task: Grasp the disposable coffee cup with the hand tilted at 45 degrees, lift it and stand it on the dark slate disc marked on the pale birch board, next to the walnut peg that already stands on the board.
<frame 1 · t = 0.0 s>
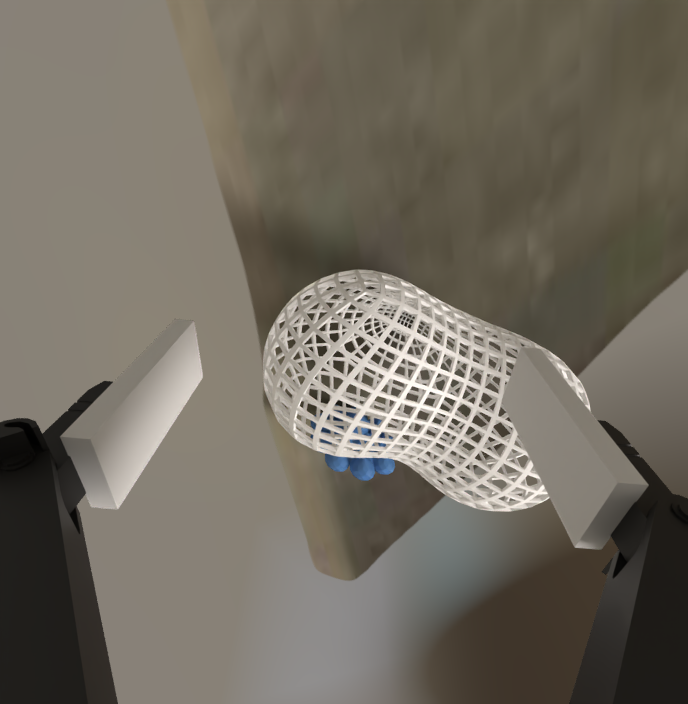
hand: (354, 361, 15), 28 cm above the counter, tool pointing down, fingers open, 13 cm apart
heart: (407, 315, 45), on the counter
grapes: (356, 402, 52), on the counter
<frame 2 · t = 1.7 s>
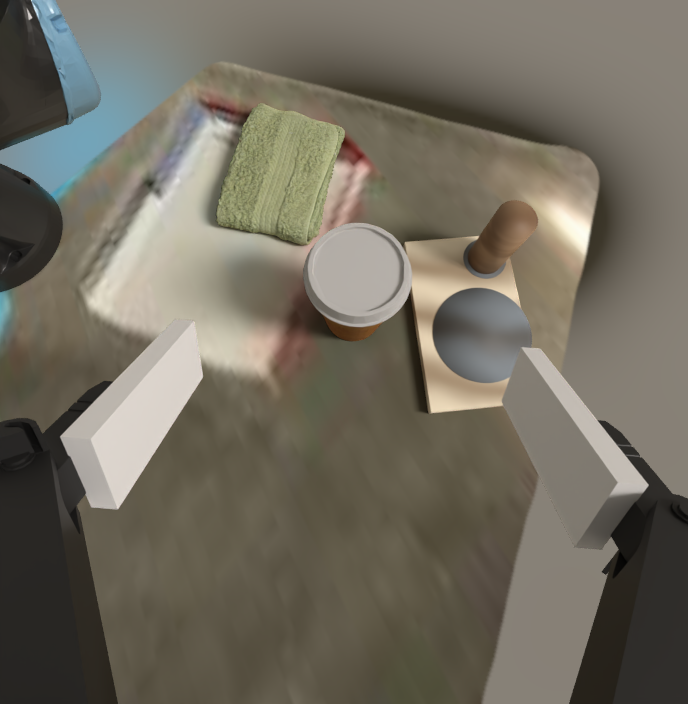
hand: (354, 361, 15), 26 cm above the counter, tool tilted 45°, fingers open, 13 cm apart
washcloth: (282, 181, 48), on the counter
board: (466, 321, 43), on the counter
walnut peg: (484, 258, 44), point 1 cm above the counter, touching board
disposable coffee cup: (352, 315, 43), on the counter
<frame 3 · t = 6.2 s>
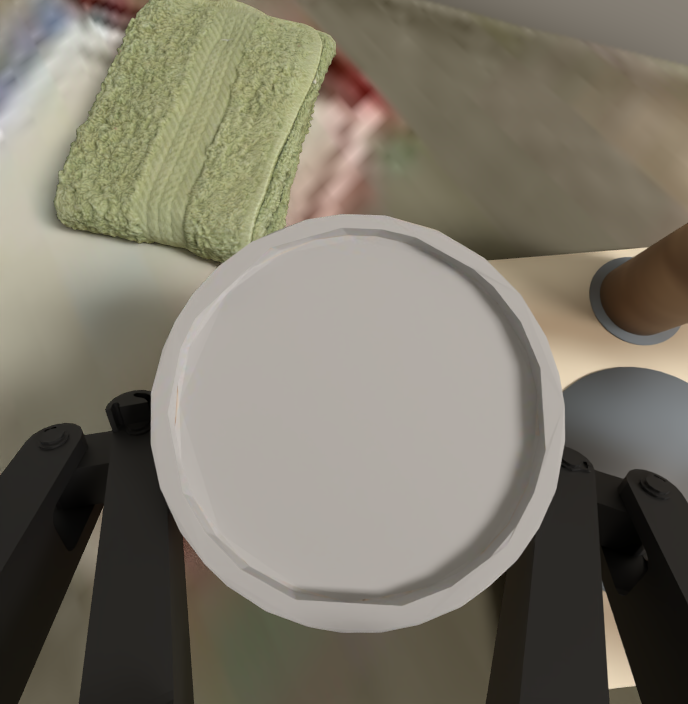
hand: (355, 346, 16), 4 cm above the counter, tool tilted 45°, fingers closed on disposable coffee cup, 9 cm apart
washcloth: (213, 141, 24), on the counter
board: (599, 439, 19), on the counter
walnut peg: (637, 299, 20), point 1 cm above the counter, touching board
disposable coffee cup: (346, 424, 20), on the counter, touching gripper
when the fingers open (5 cm above the counter, at t = 12.1 s): disposable coffee cup moves 4 cm, resting on board.
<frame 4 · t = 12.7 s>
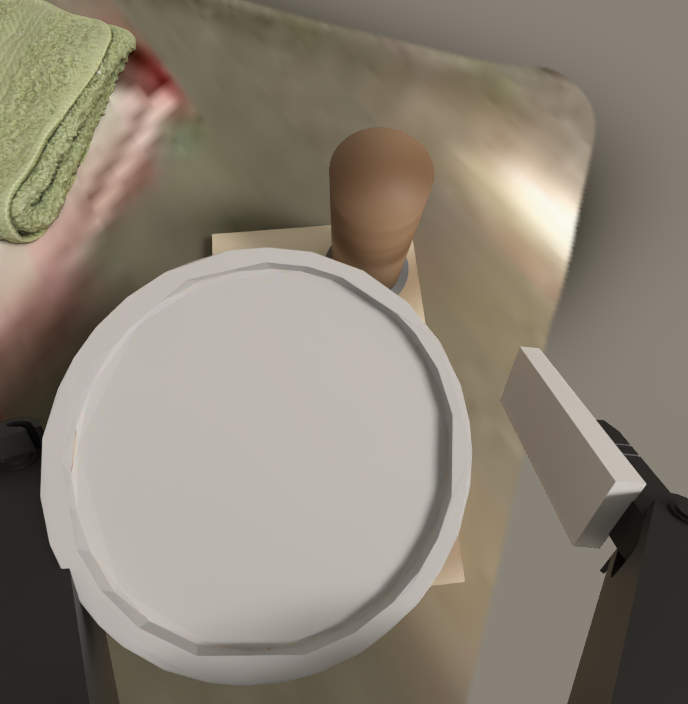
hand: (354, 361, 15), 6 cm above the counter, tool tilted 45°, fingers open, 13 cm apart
washcloth: (19, 128, 26), on the counter
board: (326, 392, 21), on the counter
walnut peg: (366, 267, 22), point 1 cm above the counter, touching board
disposable coffee cup: (283, 432, 19), point 2 cm above the counter, touching board, gripper
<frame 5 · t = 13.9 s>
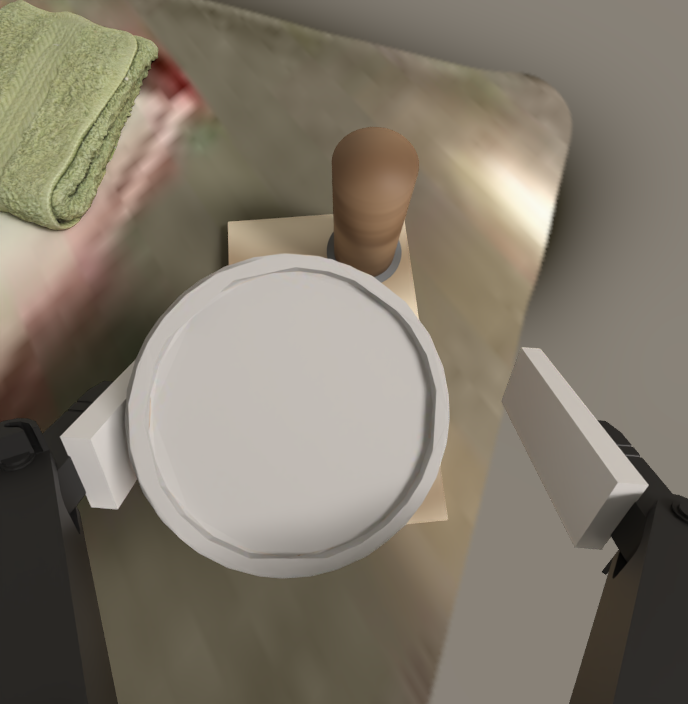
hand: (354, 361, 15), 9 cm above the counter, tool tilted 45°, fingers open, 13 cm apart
washcloth: (53, 128, 29), on the counter
board: (328, 361, 24), on the counter
walnut peg: (364, 250, 25), point 1 cm above the counter, touching board
disposable coffee cup: (282, 398, 22), point 2 cm above the counter, touching board, gripper
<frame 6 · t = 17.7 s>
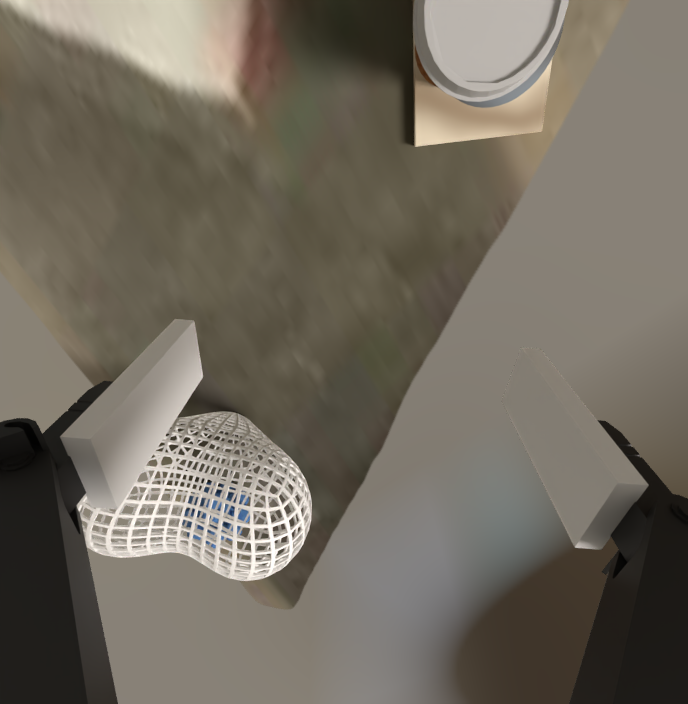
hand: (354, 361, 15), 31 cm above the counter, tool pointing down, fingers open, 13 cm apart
board: (482, 6, 32), on the counter
heart: (234, 415, 58), on the counter
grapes: (227, 477, 66), on the counter
disposable coffee cup: (450, 45, 33), point 1 cm above the counter, touching board
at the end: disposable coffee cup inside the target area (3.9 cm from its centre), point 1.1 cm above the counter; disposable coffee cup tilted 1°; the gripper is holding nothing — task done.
